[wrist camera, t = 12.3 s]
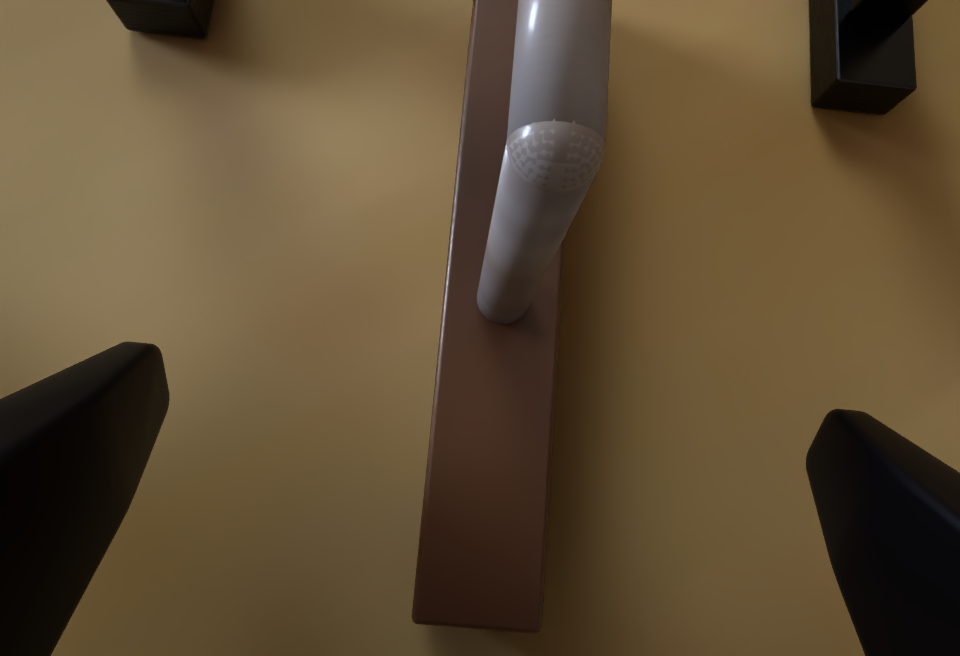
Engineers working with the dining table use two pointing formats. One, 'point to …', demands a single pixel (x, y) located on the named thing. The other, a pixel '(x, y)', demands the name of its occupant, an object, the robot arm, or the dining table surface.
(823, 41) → the clothes rail
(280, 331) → the dining table surface
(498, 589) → the hanger
